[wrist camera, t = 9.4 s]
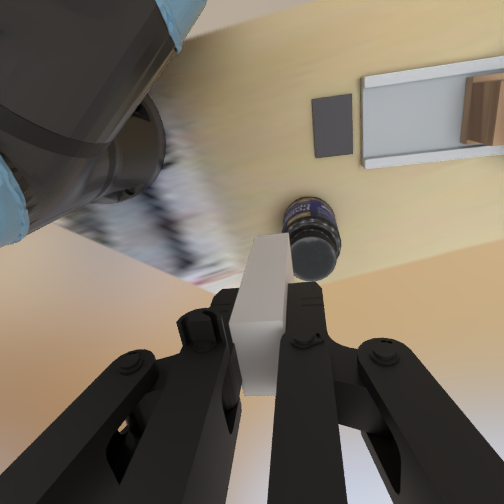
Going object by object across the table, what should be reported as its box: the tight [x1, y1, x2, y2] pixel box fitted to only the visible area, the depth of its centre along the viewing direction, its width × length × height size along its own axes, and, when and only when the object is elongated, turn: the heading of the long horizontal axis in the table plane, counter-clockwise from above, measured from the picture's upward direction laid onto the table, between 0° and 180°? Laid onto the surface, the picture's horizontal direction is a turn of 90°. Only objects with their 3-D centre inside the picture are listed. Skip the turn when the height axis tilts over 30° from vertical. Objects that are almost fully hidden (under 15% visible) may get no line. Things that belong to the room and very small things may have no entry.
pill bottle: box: [282, 197, 341, 281], centre depth 37 cm, size 6×6×11 cm
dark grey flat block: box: [312, 94, 353, 158], centre depth 37 cm, size 4×6×1 cm, turn 8°
